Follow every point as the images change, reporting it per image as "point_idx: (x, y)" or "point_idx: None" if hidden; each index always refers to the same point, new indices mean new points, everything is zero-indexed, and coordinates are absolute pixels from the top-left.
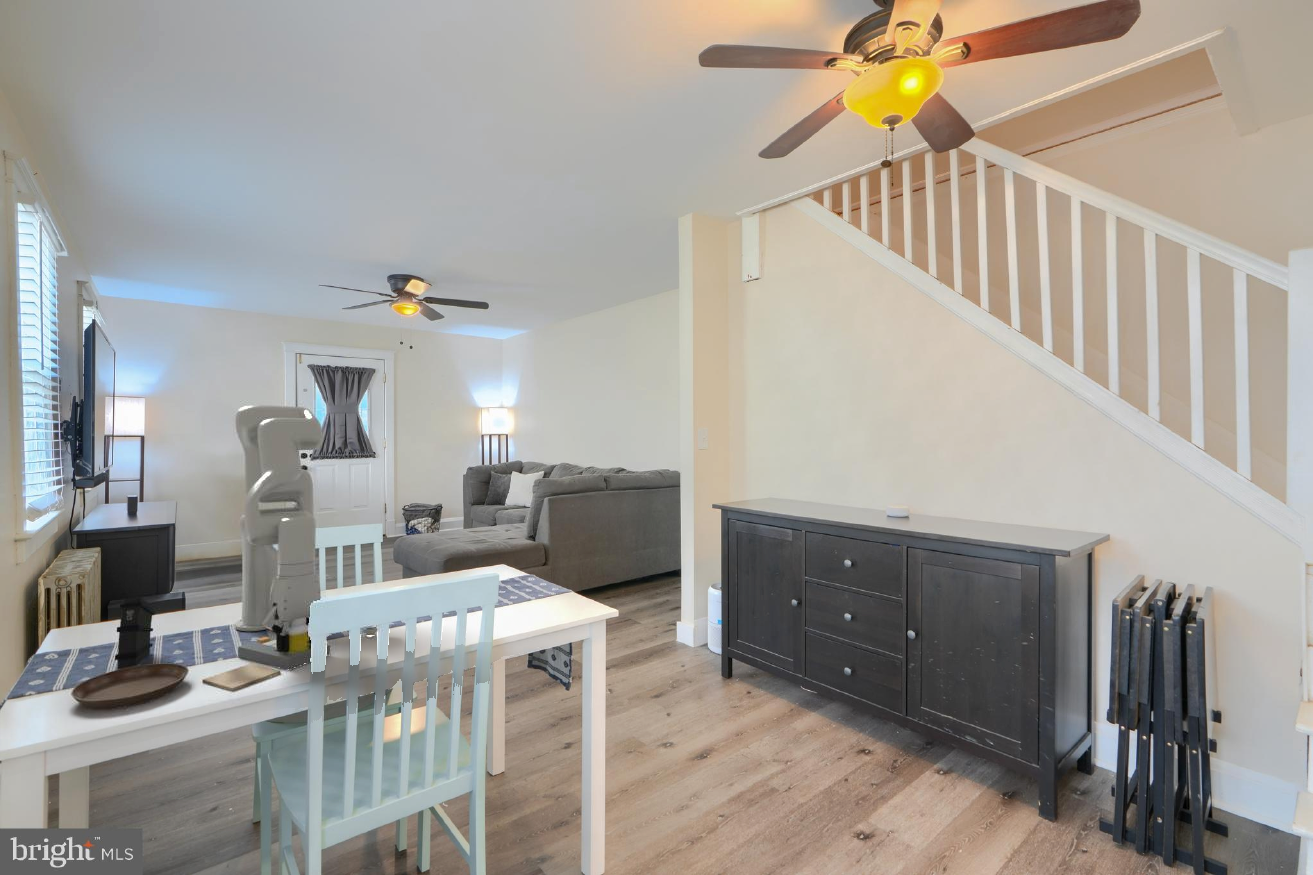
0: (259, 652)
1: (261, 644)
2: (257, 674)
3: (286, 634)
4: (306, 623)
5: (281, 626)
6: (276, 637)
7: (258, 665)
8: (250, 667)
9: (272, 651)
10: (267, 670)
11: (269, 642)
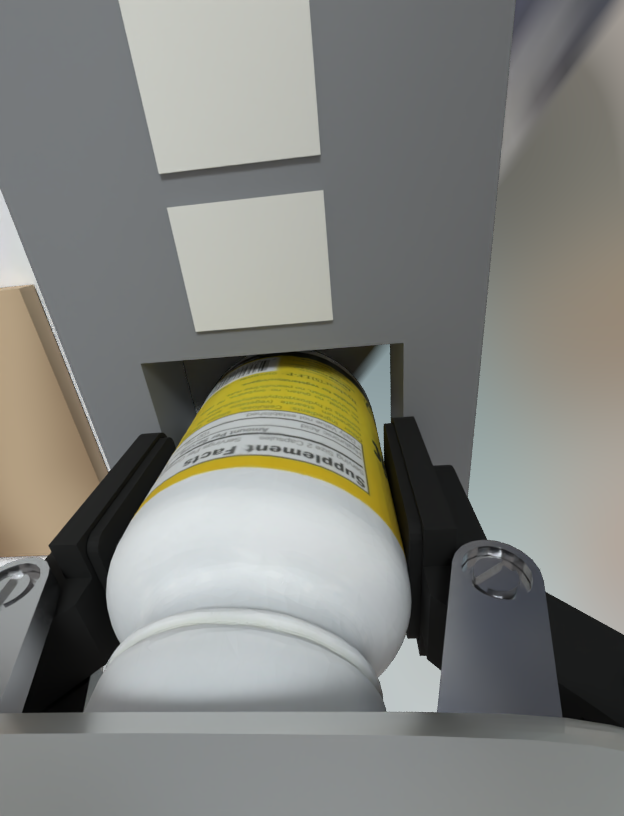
0: (42, 283)
1: (114, 2)
2: (19, 507)
3: (118, 643)
4: (434, 611)
5: (34, 662)
6: (51, 552)
7: (53, 378)
8: (2, 369)
9: (128, 378)
10: (76, 499)
11: (204, 35)
